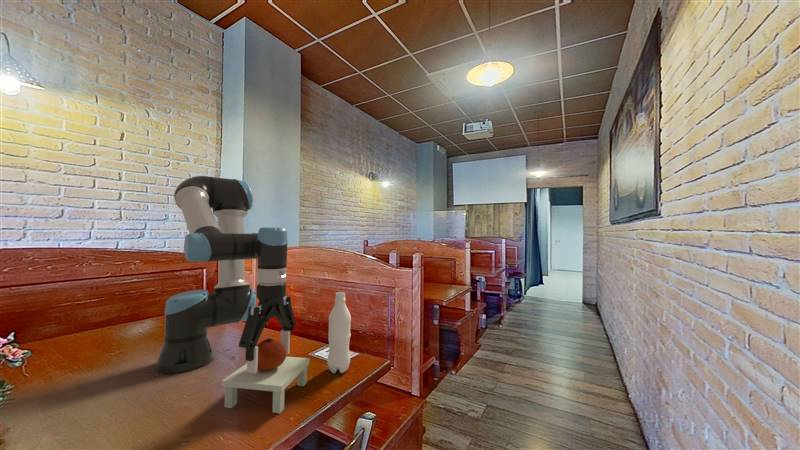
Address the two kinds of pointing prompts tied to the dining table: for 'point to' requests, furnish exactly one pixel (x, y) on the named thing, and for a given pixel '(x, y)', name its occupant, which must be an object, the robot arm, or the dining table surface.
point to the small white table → (267, 381)
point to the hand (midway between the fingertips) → (269, 361)
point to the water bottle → (339, 335)
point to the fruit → (270, 354)
